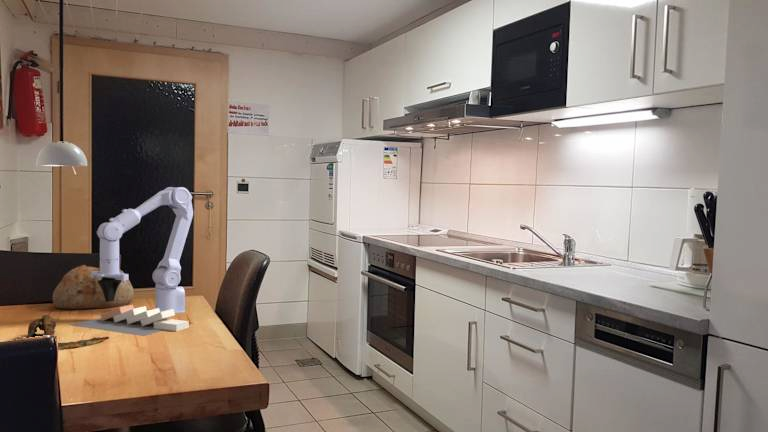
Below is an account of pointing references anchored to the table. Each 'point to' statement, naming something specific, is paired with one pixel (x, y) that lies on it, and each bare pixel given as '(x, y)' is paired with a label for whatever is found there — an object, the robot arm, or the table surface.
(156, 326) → the domino
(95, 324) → the mat
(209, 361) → the table surface
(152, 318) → the domino
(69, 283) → the bread
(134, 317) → the domino
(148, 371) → the table surface
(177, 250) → the robot arm
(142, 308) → the domino
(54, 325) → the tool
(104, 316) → the domino
